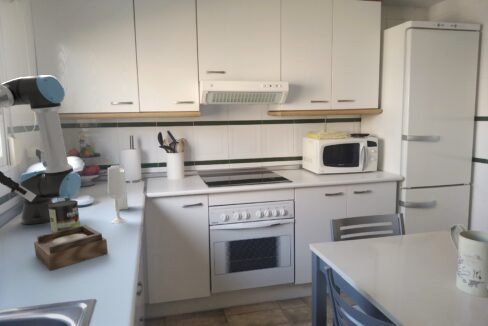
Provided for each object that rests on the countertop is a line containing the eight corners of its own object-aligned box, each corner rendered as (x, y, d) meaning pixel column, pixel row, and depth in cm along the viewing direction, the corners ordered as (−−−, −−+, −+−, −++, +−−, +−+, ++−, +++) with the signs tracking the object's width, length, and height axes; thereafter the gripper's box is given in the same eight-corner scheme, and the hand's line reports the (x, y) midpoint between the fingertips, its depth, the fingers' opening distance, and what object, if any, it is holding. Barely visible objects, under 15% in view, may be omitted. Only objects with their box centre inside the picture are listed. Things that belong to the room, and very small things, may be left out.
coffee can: (87, 234, 148) (83, 199, 146) (70, 243, 138) (65, 206, 136) (64, 233, 150) (60, 199, 148) (46, 242, 140) (41, 206, 138)
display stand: (50, 270, 114) (47, 249, 113) (35, 255, 128) (33, 236, 127) (107, 253, 126) (105, 233, 125) (88, 241, 139) (86, 223, 138)
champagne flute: (114, 219, 168) (108, 166, 164) (129, 218, 167) (123, 166, 164) (108, 223, 161) (102, 169, 158) (123, 223, 161) (118, 168, 157)
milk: (114, 208, 188) (109, 165, 185) (126, 206, 191) (122, 163, 188) (115, 210, 183) (110, 166, 179) (128, 208, 185) (123, 165, 182)
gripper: (-41, 165, 130) (14, 199, 142) (-33, 171, 111) (29, 210, 123) (-25, 149, 133) (27, 183, 144) (-14, 152, 114) (45, 191, 126)
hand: (28, 195), depth 134 cm, fingers open, 13 cm apart
